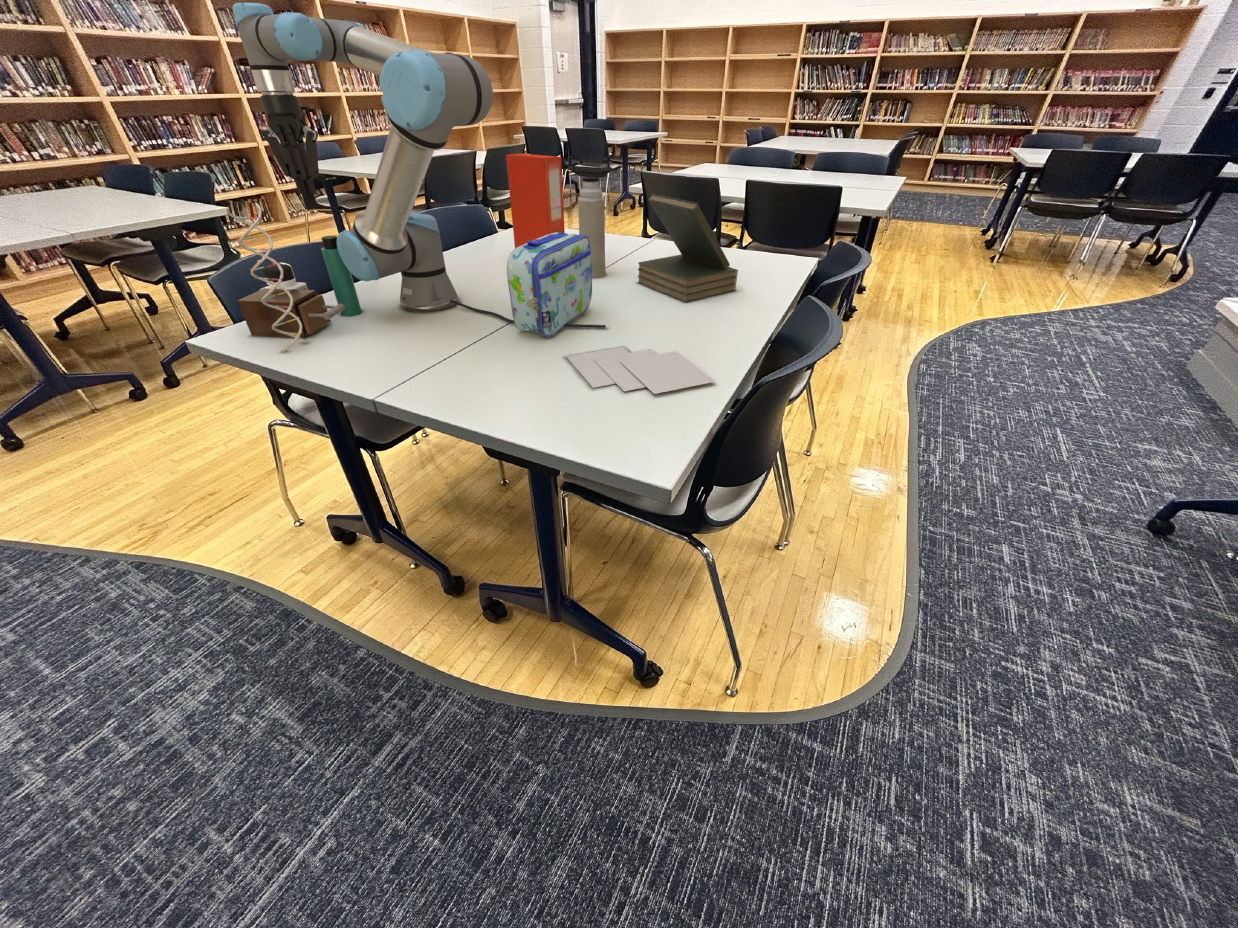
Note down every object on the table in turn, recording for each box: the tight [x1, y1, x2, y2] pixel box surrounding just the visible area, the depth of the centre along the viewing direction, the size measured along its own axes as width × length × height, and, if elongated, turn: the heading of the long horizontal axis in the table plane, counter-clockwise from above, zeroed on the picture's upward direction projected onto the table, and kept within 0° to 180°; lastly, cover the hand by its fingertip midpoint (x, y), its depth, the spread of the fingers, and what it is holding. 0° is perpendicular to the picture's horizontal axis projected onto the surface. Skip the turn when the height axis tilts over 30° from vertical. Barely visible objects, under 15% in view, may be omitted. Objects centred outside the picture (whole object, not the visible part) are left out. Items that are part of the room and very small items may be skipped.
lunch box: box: [506, 232, 593, 338], centre depth 130 cm, size 26×11×21 cm, turn 154°
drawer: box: [295, 294, 345, 335], centre depth 128 cm, size 18×8×7 cm, turn 84°
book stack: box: [637, 193, 739, 304], centre depth 154 cm, size 23×20×25 cm
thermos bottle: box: [577, 176, 606, 279], centre depth 164 cm, size 8×8×28 cm
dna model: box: [225, 202, 307, 353], centre depth 114 cm, size 7×6×30 cm
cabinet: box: [237, 287, 318, 339], centre depth 129 cm, size 14×10×9 cm
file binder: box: [505, 153, 566, 249], centre depth 178 cm, size 8×17×32 cm, turn 51°
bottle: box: [320, 235, 362, 317], centre depth 136 cm, size 5×5×19 cm
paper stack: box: [565, 346, 717, 395], centre depth 112 cm, size 23×25×1 cm
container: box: [259, 262, 309, 290], centre depth 136 cm, size 8×8×13 cm
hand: (312, 208), depth 133 cm, fingers closed
